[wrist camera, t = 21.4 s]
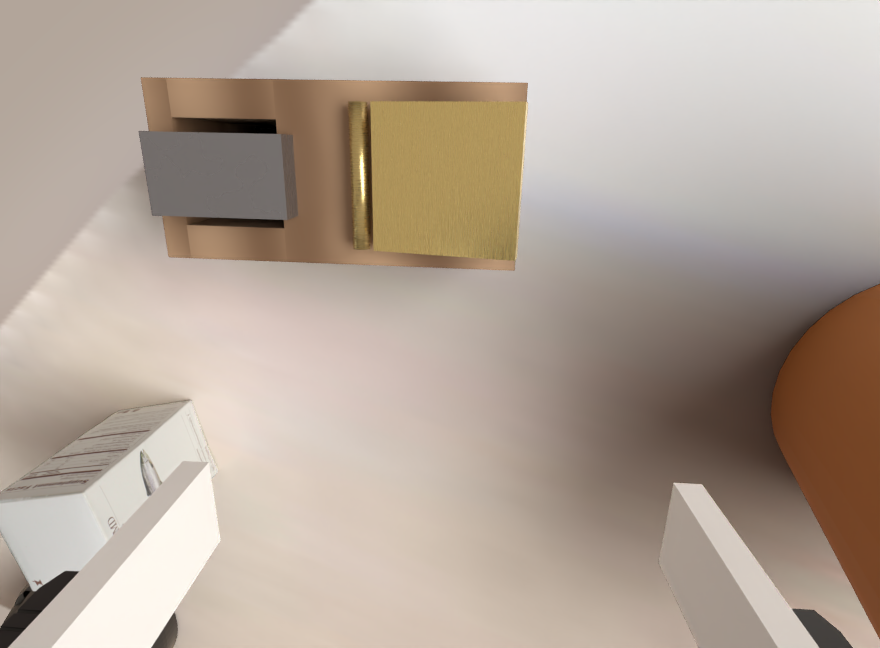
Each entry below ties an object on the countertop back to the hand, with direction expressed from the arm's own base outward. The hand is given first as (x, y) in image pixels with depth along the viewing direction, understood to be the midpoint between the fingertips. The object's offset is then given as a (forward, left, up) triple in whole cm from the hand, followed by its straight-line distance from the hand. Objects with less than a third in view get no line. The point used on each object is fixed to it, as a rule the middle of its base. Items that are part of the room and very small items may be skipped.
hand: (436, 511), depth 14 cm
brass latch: (-5, +8, -14) cm, 17 cm away
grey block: (-12, +8, -24) cm, 28 cm away
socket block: (-7, +8, -24) cm, 27 cm away
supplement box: (-25, -15, -25) cm, 38 cm away
